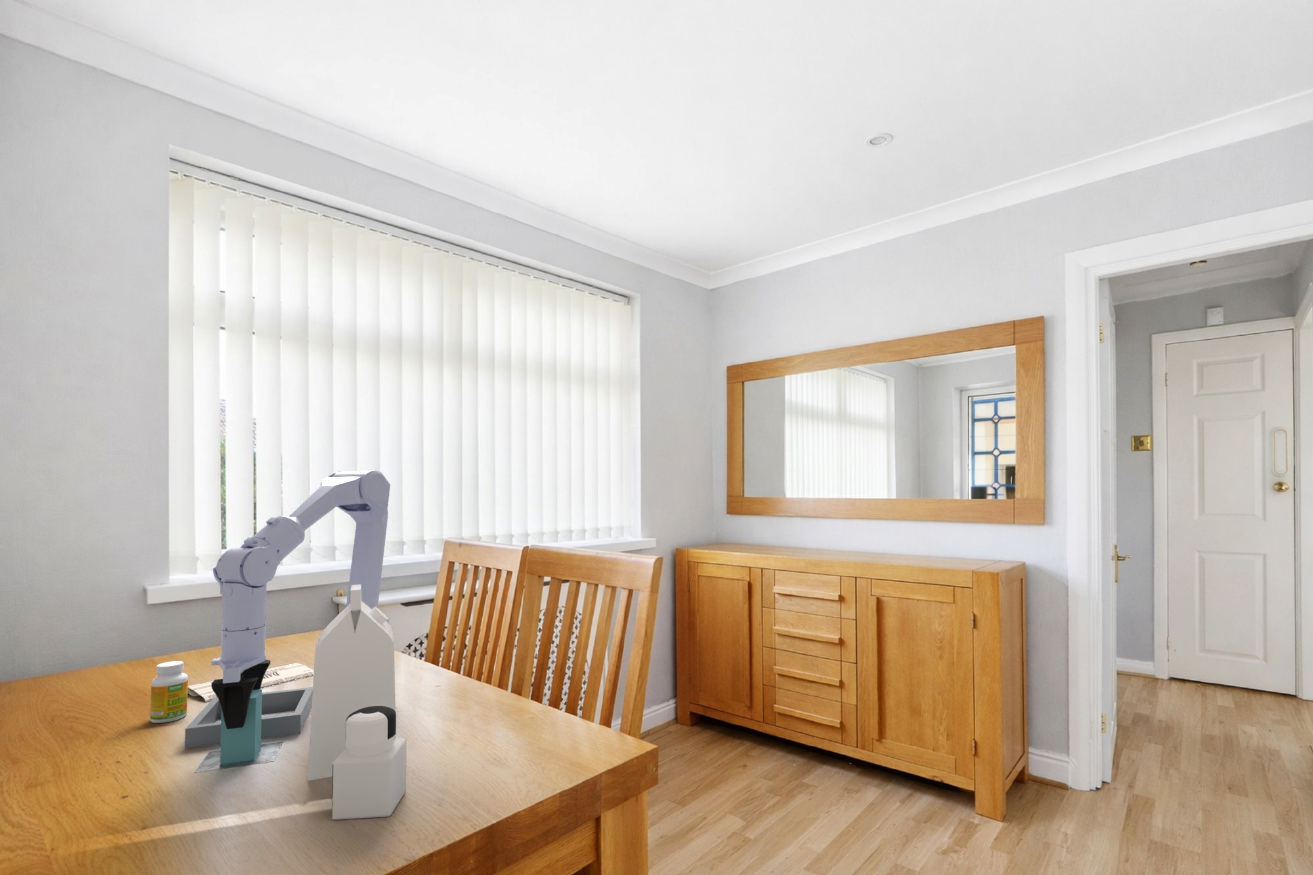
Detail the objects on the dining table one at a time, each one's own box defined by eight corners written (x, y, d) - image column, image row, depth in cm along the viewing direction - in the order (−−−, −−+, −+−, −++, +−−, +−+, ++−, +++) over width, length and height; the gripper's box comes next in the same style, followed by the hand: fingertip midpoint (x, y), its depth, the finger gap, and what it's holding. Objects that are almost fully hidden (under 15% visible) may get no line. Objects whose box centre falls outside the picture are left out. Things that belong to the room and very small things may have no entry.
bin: (313, 708, 124) (313, 686, 124) (300, 739, 109) (300, 714, 109) (212, 721, 118) (213, 698, 119) (184, 755, 103) (185, 728, 104)
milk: (313, 756, 102) (316, 584, 104) (394, 743, 107) (395, 579, 109) (307, 788, 91) (309, 596, 93) (397, 772, 96) (398, 589, 98)
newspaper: (289, 669, 154) (290, 658, 154) (316, 683, 147) (317, 672, 147) (174, 694, 136) (175, 682, 136) (199, 712, 128) (200, 699, 128)
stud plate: (283, 748, 106) (283, 728, 106) (273, 768, 98) (274, 747, 98) (209, 758, 102) (209, 738, 102) (193, 779, 95) (194, 758, 95)
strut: (260, 748, 103) (262, 689, 104) (254, 759, 99) (255, 697, 99) (227, 753, 101) (229, 692, 102) (220, 764, 97) (221, 701, 98)
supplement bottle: (167, 724, 117) (169, 668, 118) (142, 723, 118) (143, 667, 119) (194, 714, 122) (195, 660, 123) (169, 712, 123) (171, 659, 124)
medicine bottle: (352, 794, 89) (353, 702, 90) (406, 791, 90) (407, 700, 91) (330, 821, 82) (332, 721, 83) (390, 817, 83) (391, 718, 84)
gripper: (225, 620, 107) (223, 707, 106) (198, 640, 93) (195, 739, 92) (275, 617, 109) (273, 701, 108) (256, 635, 96) (254, 732, 95)
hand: (241, 719), depth 100 cm, fingers open, 7 cm apart
